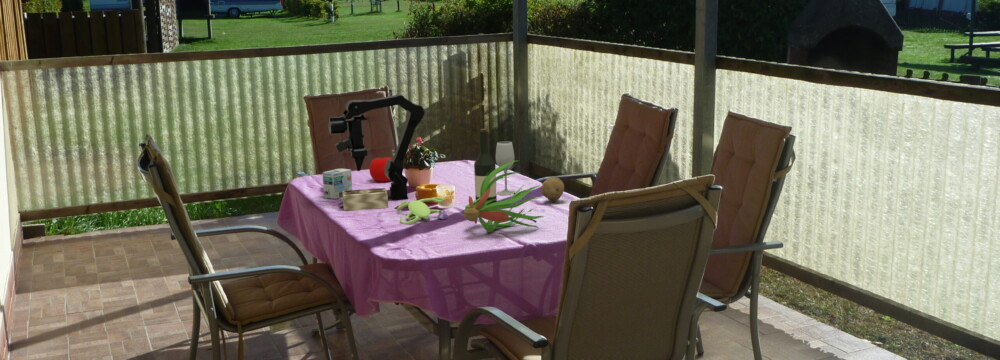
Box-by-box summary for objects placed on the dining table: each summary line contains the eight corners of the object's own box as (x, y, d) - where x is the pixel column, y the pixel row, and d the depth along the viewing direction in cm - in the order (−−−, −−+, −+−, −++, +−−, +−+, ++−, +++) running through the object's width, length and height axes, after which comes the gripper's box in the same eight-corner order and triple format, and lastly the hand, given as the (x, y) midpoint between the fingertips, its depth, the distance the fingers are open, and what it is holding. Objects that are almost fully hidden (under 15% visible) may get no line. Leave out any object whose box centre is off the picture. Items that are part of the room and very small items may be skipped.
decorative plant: (451, 250, 369) (502, 229, 392) (508, 244, 353) (557, 222, 377) (434, 177, 366) (486, 160, 390) (490, 168, 351) (541, 151, 374)
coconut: (560, 205, 409) (560, 179, 407) (538, 204, 412) (537, 178, 410) (567, 200, 418) (566, 175, 416) (545, 199, 421) (544, 174, 419)
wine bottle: (494, 208, 407) (491, 130, 402) (473, 208, 409) (470, 130, 403) (499, 203, 415) (496, 127, 410) (478, 203, 417) (475, 127, 411)
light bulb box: (334, 199, 435) (333, 173, 433) (323, 197, 439) (321, 172, 437) (353, 194, 443) (351, 169, 441) (342, 193, 447) (340, 167, 445)
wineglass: (516, 191, 438) (514, 140, 434) (514, 195, 431) (513, 143, 427) (497, 191, 439) (496, 141, 435) (496, 195, 431) (494, 144, 427)
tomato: (365, 183, 466) (364, 158, 464) (377, 177, 479) (376, 153, 477) (390, 184, 463) (389, 159, 461) (402, 178, 475) (400, 154, 473)
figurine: (443, 207, 414) (443, 193, 413) (451, 223, 388) (450, 208, 387) (396, 210, 411) (395, 196, 410) (400, 226, 385) (399, 211, 384)
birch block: (386, 202, 425) (385, 187, 424) (388, 207, 415) (387, 191, 414) (343, 205, 422) (342, 190, 421) (344, 211, 412) (343, 195, 411)
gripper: (333, 130, 429) (336, 168, 432) (337, 137, 412) (340, 176, 415) (360, 128, 432) (363, 166, 435) (366, 134, 414) (369, 174, 417)
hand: (358, 170), depth 425 cm, fingers closed
